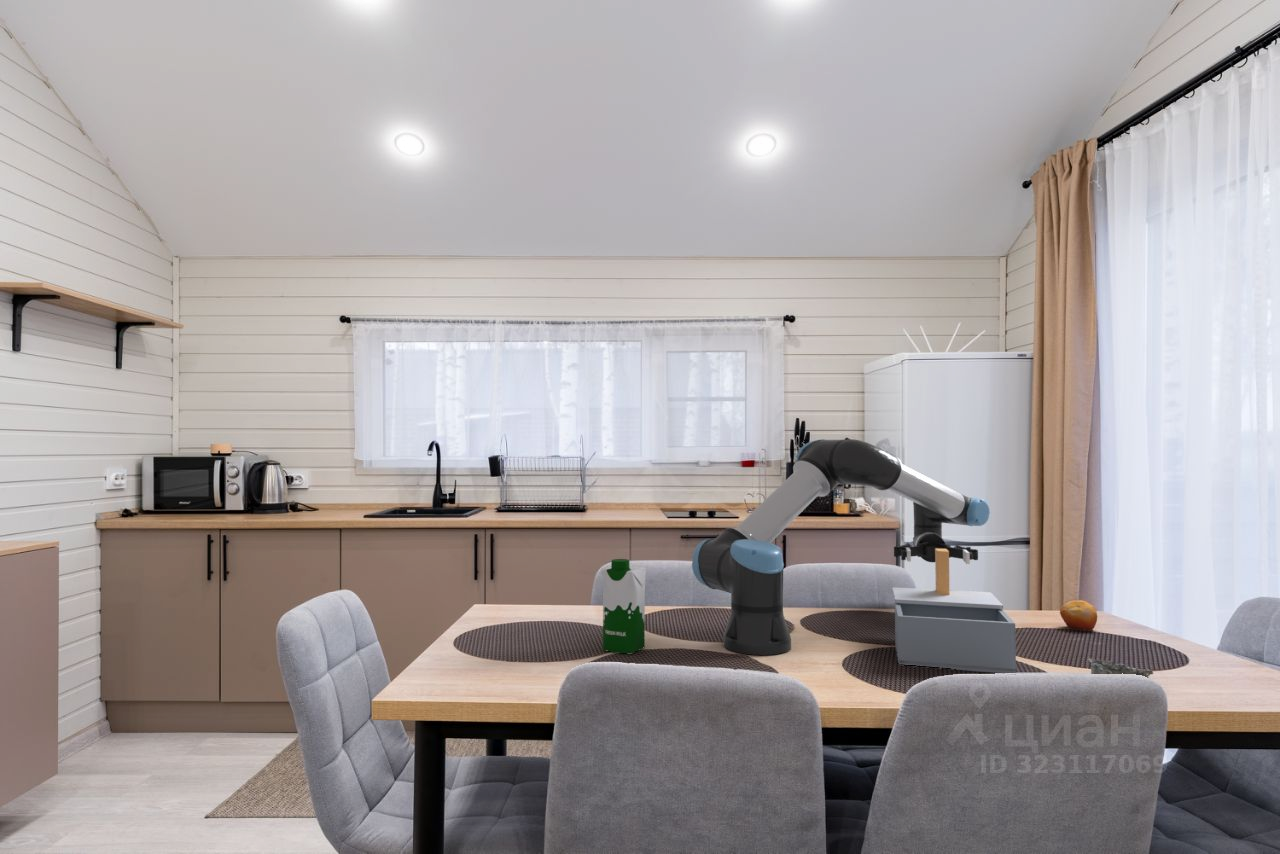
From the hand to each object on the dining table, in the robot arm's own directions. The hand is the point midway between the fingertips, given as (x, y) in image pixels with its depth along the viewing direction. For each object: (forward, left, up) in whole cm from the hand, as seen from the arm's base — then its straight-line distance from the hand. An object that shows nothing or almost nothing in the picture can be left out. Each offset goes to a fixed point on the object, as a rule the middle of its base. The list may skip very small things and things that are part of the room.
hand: (938, 557), depth 184 cm
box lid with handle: (0, -14, -7) cm, 15 cm away
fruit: (+34, +14, -18) cm, 41 cm away
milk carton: (-69, -40, -18) cm, 82 cm away
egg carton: (+29, -34, -19) cm, 49 cm away
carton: (0, -26, -18) cm, 32 cm away
